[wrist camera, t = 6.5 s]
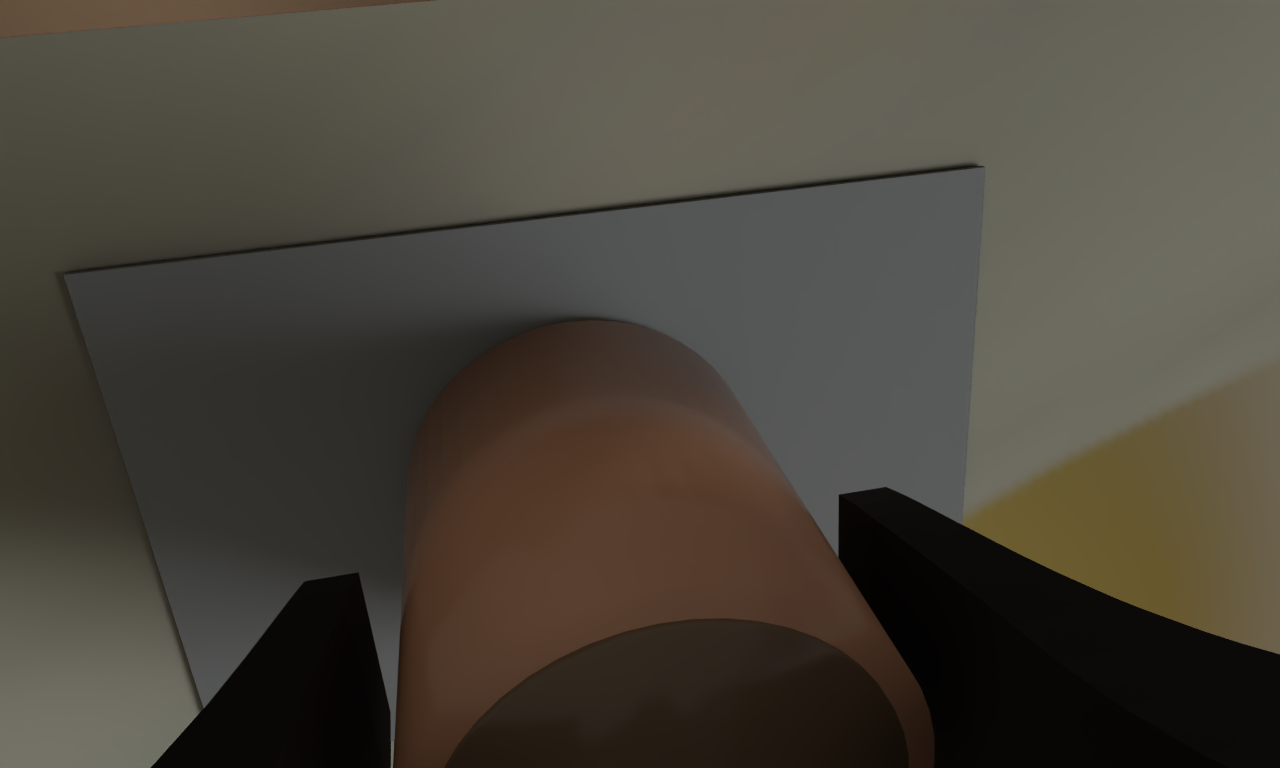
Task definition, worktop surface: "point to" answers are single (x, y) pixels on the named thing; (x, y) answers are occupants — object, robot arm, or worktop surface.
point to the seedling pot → (628, 578)
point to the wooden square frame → (146, 12)
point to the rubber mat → (488, 315)
